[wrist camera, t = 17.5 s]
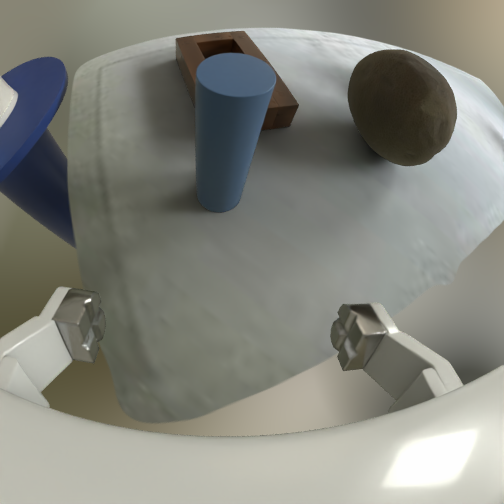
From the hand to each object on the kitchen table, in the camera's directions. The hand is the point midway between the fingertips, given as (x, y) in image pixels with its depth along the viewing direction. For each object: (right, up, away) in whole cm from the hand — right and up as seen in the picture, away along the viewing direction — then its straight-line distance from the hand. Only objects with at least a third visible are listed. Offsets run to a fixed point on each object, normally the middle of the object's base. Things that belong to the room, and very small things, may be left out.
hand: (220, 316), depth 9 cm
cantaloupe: (+18, +17, +25) cm, 35 cm away
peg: (-2, +8, +18) cm, 20 cm away
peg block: (-2, +24, +23) cm, 33 cm away
